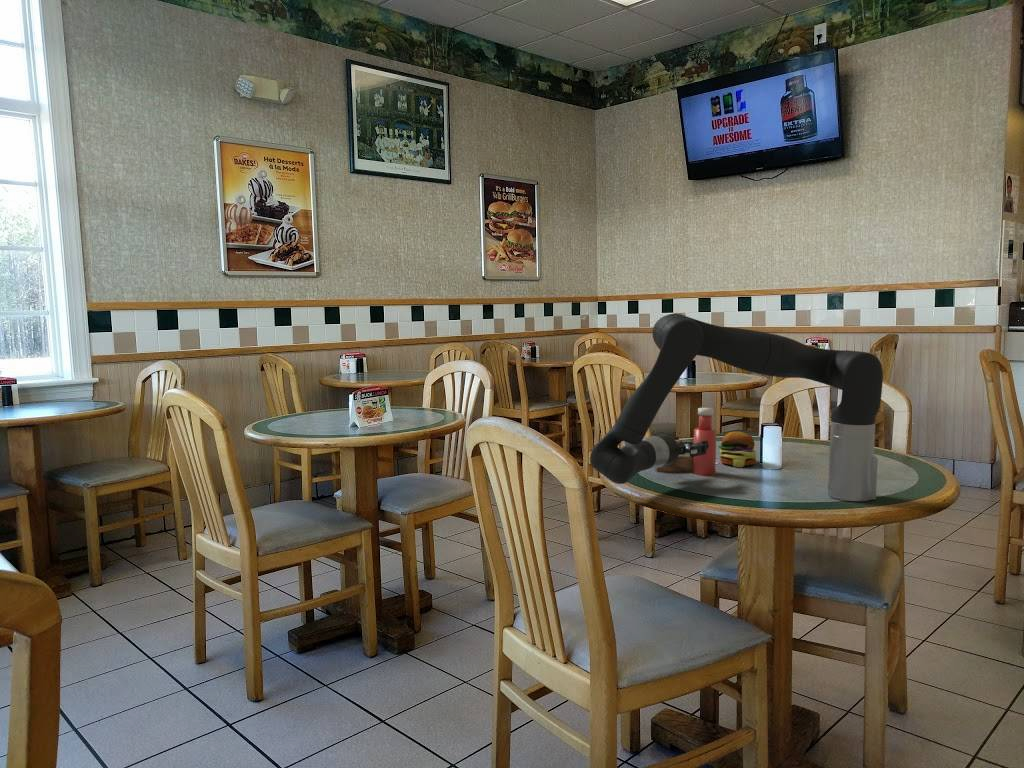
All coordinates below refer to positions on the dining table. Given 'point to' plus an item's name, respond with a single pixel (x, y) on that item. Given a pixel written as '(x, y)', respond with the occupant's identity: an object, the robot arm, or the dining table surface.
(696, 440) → the ketchup bottle
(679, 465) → the walnut block
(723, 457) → the cheeseburger
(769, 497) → the dining table surface
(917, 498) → the dining table surface
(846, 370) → the robot arm
